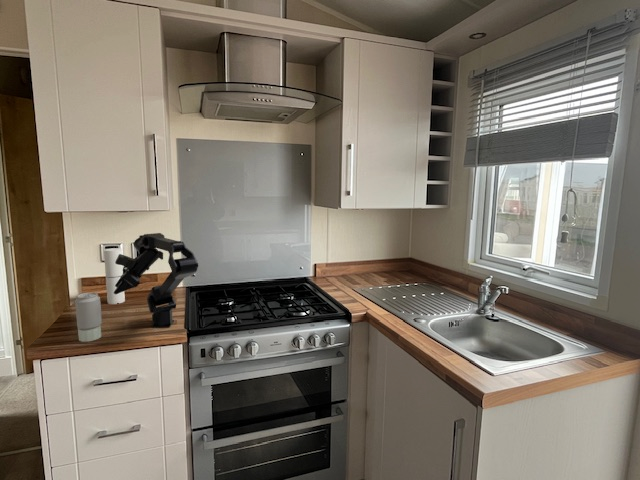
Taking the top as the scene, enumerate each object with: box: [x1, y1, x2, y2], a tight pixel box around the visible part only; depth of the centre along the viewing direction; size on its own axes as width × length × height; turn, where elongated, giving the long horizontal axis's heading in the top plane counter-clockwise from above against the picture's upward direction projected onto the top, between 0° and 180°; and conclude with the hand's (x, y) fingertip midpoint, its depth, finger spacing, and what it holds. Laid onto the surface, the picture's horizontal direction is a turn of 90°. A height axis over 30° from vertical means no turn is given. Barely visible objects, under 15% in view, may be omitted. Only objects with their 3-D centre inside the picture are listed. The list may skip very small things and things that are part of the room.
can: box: [74, 292, 103, 330], centre depth 129 cm, size 8×8×12 cm
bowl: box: [77, 325, 102, 343], centre depth 130 cm, size 7×7×4 cm
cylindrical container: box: [103, 247, 126, 305], centre depth 169 cm, size 7×7×25 cm
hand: (115, 290), depth 141 cm, fingers open, 9 cm apart
